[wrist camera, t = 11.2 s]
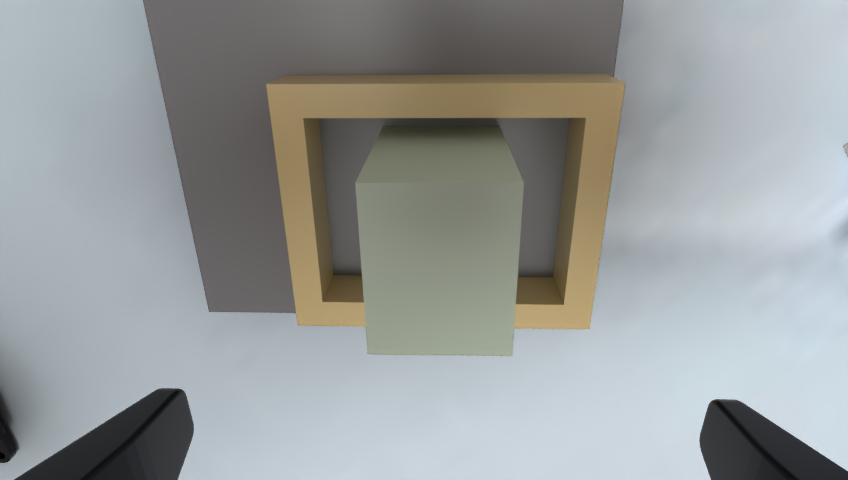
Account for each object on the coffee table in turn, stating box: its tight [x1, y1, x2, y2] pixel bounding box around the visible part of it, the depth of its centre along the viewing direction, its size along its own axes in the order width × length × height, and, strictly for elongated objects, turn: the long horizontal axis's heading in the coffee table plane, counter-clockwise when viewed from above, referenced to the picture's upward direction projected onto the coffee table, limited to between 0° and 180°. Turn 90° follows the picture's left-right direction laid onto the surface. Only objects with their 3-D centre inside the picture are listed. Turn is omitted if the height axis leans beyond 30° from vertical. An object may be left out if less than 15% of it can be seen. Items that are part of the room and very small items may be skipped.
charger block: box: [355, 126, 524, 356], centre depth 16 cm, size 4×5×6 cm
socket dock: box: [143, 0, 625, 329], centre depth 18 cm, size 15×12×3 cm
